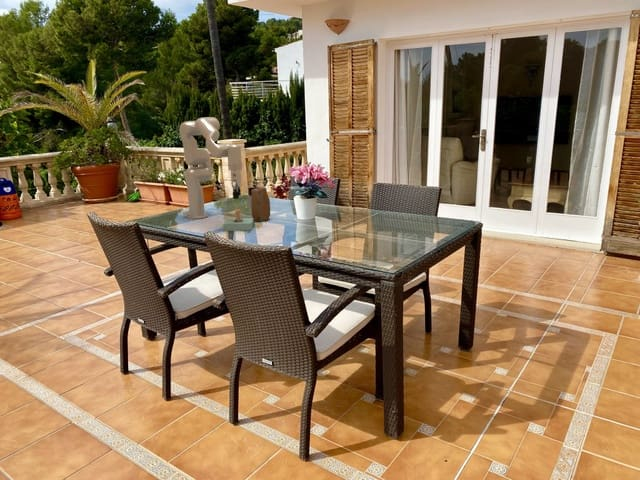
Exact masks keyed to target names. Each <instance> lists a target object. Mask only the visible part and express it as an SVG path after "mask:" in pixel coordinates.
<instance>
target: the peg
mask: <svg viewBox="0 0 640 480" xmlns="http://www.w3.org/2000/svg"><path fill="white" fill-rule="evenodd" d="M234 218H235V222H242V219H241V218H242V210H240V209H239V210H237V209H236V210H234Z"/></svg>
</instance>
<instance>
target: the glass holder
mask: <svg viewBox="0 0 640 480" xmlns="http://www.w3.org/2000/svg"><path fill="white" fill-rule="evenodd" d="M247 188H248V189H247V190H248V191H247V192H248V193H247V194H248V212H252V205H251V195H252V192H251V191H252V189H255V188H260V186H259V187H257V186H254V187H253V186H252V187H247ZM266 192H267V193H268V191H267V190H266Z"/></svg>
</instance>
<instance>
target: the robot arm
mask: <svg viewBox="0 0 640 480" xmlns="http://www.w3.org/2000/svg"><path fill="white" fill-rule="evenodd" d="M220 127H221V126H220V122H219V120H218V119H217V118H216V117H213V116H211V117H210V116H207V117H205V116H204V117H199V118H197V119H196V120H188V121H187V120H186V121H183V122H182V123H181V124H180V125H179V136H180V138H181V139H180V140H181V141H182V147H183V155H184V162H185V164H186V165H188V166H192V167H189V168H187V169H186V170H185V171H184V180H185V184H186V189H187V191H186V192H187V200H188V210H182V214H183V215H187V216H186V217H187V219H190V220H197V219H198V220H199V219H205V218H207V217H208V214H207V213H206V212H205V210H206V209H205V201H204V200H205V198H204V189H203V187H202V185H201V184H200V183H202V182H209V181H211V180H212V178H213V169H212V161H211V156H213V158H217V159H222V158H227V165H228V169H227V170H228V171H230V182H231V183H230V184H231V188H232V199H234V200H239V199H240V196H241V194H242V193H241V188H242V186H243V181H242V172H241V171H242V170H243V163H242V160H243V159H242V149H241V148H242V147H241V145H239V144H233V143H219V144H218V143H215V142H217V141H218V139H219V137H220V132H219V130H220ZM194 136H202V137H203V138H204V139H205V146H206V149H205V148H198V142H197V140H196V139H195V137H194ZM198 165H200V166H198ZM193 166H194V167H193Z"/></svg>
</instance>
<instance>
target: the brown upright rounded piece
mask: <svg viewBox="0 0 640 480" xmlns="http://www.w3.org/2000/svg"><path fill="white" fill-rule="evenodd" d="M266 191H267V188H266V187H261V186H259V188H255V189H252V191H251V192H252V195H251V205H252V211H251V218H253V220H254V222H259V223H260V222H265V221H268V220H269V219H270V217H271V201H270V197H269V195H268V191H267V192H266Z"/></svg>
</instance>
